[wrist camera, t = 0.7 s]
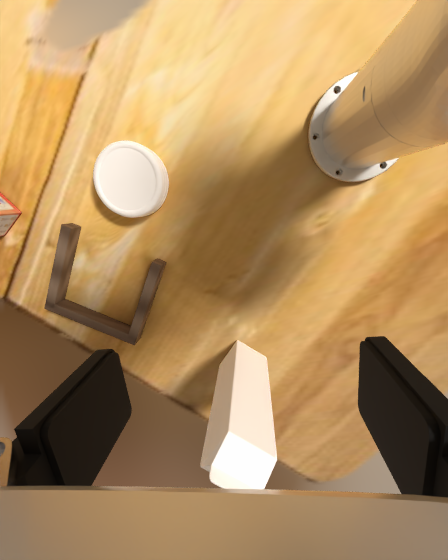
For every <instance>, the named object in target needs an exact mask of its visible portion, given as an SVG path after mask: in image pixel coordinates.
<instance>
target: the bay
mask: <svg viewBox="0 0 448 560" xmlns="http://www.w3.org/2000/svg"><path fill="white" fill-rule="evenodd" d="M80 230H81V227H80V226H78V225H75V224H73V223H70V224H62V225H61V230H60V235H59V240H58V244H57V249H56V254H55V259H54V264H53V269H52V274H51V279H50V284H49V289H48V294H47V299H46V304H45V308H44V309H47V310H49V311H52V312H54V313H57V314H59V315H62V316H64V317H67V318H69V319H71V320H74V321H76V322H79V323H81V324H84V325H86V326H89V327H91V328H93V329H96V330H98V331H101V332H103V333H106V334H108V335H111V336H113V337H116V338H118V339H120V340H123V341H125V342H128V343H130V344H133V345H135V344H136V343H137V341H138V340H139V339H140V338H141V335H142V332H143V329H144V326H145V323H146V320H147V317H148V314H149V311H150V308H151V306H152V303H153V300H154V297H155V294H156V291H157V288H158V285H159V282H160V279H161V276H162V273H163V270H164V268H165V265H166V262H164V261H162V260H160V259H156V260H154V261H153V262H152V263H151V266H150V270H149V273H148V276H147V279H146V282H145V285H144V288H143V291H142V294H141V297H140V300H139V303H138V307H137V310H136V313H135V316H134V319H133V322H132V325H131V326H130V325H127V324H125V323H122V322H120V321H118V320H115V319H113V318H110V317H108V316H105V315H103V314H100V313H98V312H96V311H93V310H91V309H88V308H86V307H83V306H81V305H78V304H76V303H74V302H71V301H69V300H66V299H65V296H66V292H67V287H68V283H69V279H70V274H71V270H72V265H73V261H74V257H75V252H76V248H77V243H78V239H79V235H80Z"/></svg>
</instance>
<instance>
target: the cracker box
mask: <svg viewBox="0 0 448 560" xmlns="http://www.w3.org/2000/svg"><path fill="white" fill-rule="evenodd" d="M20 214H21V211H20V210H19V209H17V208H16V207H15V206H14V205H13V204H12V203H11V202H10V201H9V200H8V199H7V198H6V197H5V196H4V195H3V194H1V193H0V236H4V235H5V234H6V233H7V232H8V230H9V229H10V227H11V226H12V225H13V223H14V222H15V221H16V219H17V218H18V217H19V215H20Z"/></svg>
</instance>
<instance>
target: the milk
mask: <svg viewBox="0 0 448 560" xmlns="http://www.w3.org/2000/svg"><path fill="white" fill-rule="evenodd" d="M276 461H277V453H276V444H275V434H274V424H273V414H272V404H271V395H270V385H269V375H268V365H267V357H265V356H264V355H262V354H260V353H259V352H257V351H255V350H254V349H252V348H250V347H249V346H247V345H245V344H244V343H242V342H240V341H239V340H237V341H236V343H235V344H234V345H233V347H232V348H231V349H230V351H229V352H228V354H227V355H226V356H225V358H224V359H223V361H222V362H221V363H220V365H219V370H218V376H217V381H216V386H215V391H214V396H213V402H212V407H211V412H210V417H209V422H208V428H207V433H206V438H205V443H204V448H203V454H202V459H201V464H200V467H202V468H204V469H205V470H207V471H209V472H210V480H211V482H212V483H214V484H216V485H218V486H220V487H221V488H226V489H264V488H265V486H266V483H267V481H268V479H269V477H270V475H271V472H272V470H273V468H274V465H275V463H276Z"/></svg>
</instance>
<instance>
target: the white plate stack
mask: <svg viewBox="0 0 448 560" xmlns="http://www.w3.org/2000/svg"><path fill="white" fill-rule="evenodd" d="M93 180H94V186H95V189H96V192H97V194H98V196H99V198H100V199H101V201H102V202H103V203H104V204H105V205H106V206H107V207H108V208H109V209H110V210H112V211H113V212H115V213H117V214H119V215H121V216H124V217H130V218H135V217H144V216H148V215H150V214H152V213H154V212H156V211H157V210H158V209H159V208H160V207H161V206H162V204H163V203H164V201H165V199H166V197H167V194H168V189H169V178H168V173H167V170H166V168H165V166H164V164H163V162H162V160H161V159H160V158H159V157H158V155H157V154H155V153H154V152H153V151H152V150H150V149H149V148H147V147H145V146H143V145H141V144H139V143H136V142H133V141H117V142H114V143H112V144H110V145H108V146H107V147H105V148H104V149H103V150H102V151H101V153H100V154H99V156H98V157H97V160H96V162H95V165H94V170H93Z"/></svg>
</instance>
